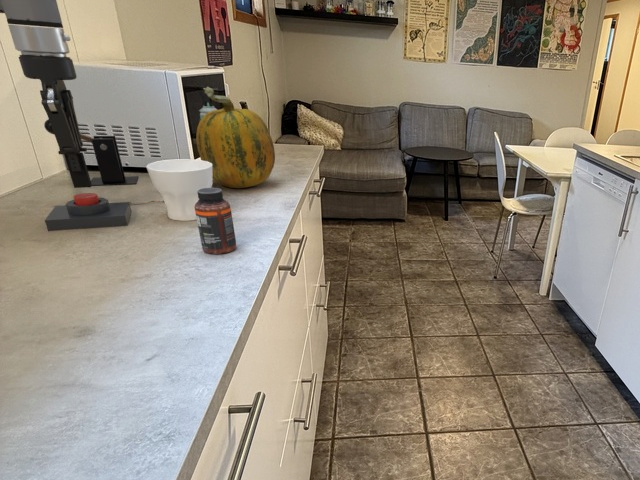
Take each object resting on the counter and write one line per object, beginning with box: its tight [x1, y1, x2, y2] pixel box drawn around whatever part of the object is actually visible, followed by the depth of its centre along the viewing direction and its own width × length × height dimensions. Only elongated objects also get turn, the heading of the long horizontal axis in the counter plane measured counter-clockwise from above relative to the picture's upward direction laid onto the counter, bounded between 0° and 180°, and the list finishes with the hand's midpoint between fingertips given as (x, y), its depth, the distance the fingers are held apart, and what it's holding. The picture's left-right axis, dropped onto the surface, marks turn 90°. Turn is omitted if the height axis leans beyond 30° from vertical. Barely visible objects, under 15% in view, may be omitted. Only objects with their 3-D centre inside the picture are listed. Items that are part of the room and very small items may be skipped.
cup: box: [146, 158, 213, 222], centre depth 102 cm, size 12×12×11 cm
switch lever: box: [43, 118, 104, 144], centre depth 114 cm, size 13×4×4 cm, turn 118°
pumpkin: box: [195, 86, 276, 189], centre depth 124 cm, size 19×19×25 cm
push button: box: [73, 192, 100, 205], centre depth 96 cm, size 4×4×2 cm
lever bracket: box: [90, 135, 139, 187], centre depth 119 cm, size 10×8×12 cm
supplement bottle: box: [194, 187, 237, 255], centre depth 86 cm, size 6×6×11 cm
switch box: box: [44, 197, 133, 232], centre depth 97 cm, size 13×10×4 cm
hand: (83, 186), depth 94 cm, fingers closed
